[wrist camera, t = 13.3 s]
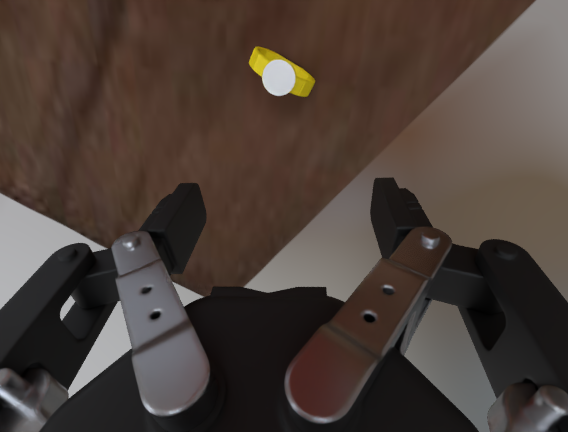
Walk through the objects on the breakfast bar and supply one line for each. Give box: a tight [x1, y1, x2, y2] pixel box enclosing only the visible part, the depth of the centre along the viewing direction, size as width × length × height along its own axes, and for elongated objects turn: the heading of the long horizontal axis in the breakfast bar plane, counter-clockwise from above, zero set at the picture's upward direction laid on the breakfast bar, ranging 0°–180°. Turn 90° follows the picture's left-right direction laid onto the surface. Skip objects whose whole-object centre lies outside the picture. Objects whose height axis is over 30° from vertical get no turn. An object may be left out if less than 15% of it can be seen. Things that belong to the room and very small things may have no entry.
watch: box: [249, 46, 315, 97], centre depth 26 cm, size 6×3×6 cm, turn 63°
